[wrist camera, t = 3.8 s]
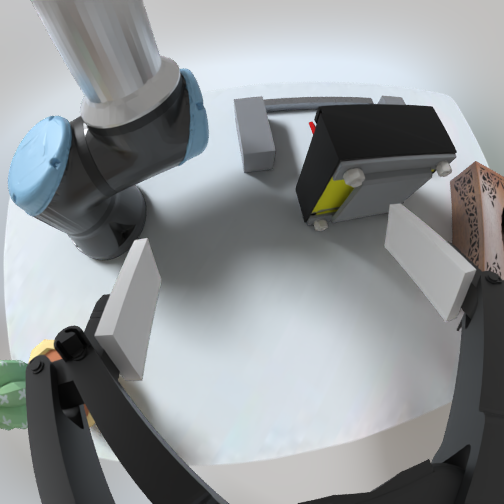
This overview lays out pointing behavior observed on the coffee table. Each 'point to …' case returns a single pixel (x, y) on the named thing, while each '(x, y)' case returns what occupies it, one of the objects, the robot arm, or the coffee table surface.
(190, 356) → the coffee table surface
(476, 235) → the tissue box cover
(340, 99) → the metal rail
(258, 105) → the block
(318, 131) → the electrical component
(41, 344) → the potted cactus
